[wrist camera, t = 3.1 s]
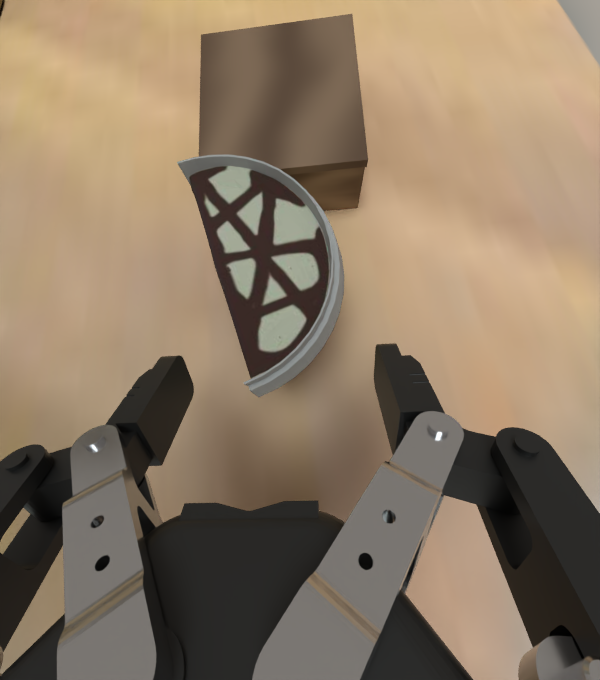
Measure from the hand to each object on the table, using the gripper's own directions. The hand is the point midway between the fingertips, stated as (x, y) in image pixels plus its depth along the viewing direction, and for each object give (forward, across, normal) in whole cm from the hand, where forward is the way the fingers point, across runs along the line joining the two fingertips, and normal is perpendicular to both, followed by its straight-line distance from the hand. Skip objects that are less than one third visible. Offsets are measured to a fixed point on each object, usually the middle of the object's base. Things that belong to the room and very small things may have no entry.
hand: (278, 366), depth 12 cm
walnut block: (+21, 0, -7) cm, 22 cm away
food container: (+11, 0, +3) cm, 11 cm away
